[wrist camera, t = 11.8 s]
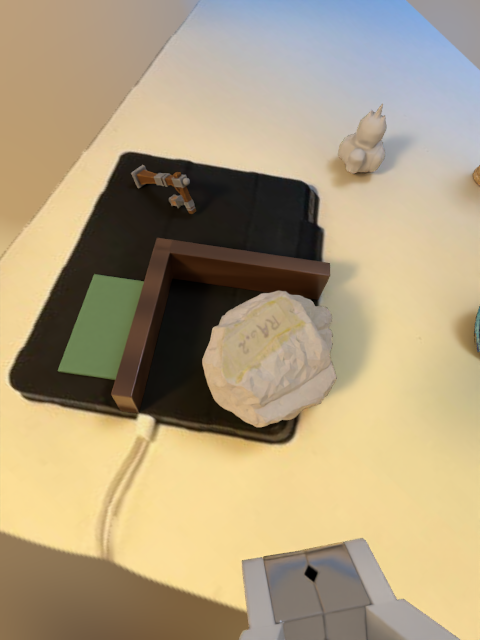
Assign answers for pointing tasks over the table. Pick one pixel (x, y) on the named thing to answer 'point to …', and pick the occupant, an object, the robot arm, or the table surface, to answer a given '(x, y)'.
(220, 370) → the fossil replica
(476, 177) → the sprinkles bottle
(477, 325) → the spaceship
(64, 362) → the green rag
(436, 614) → the table surface
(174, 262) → the corner stop
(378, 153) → the grey lumpy figure
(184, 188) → the wooden post with brackets
